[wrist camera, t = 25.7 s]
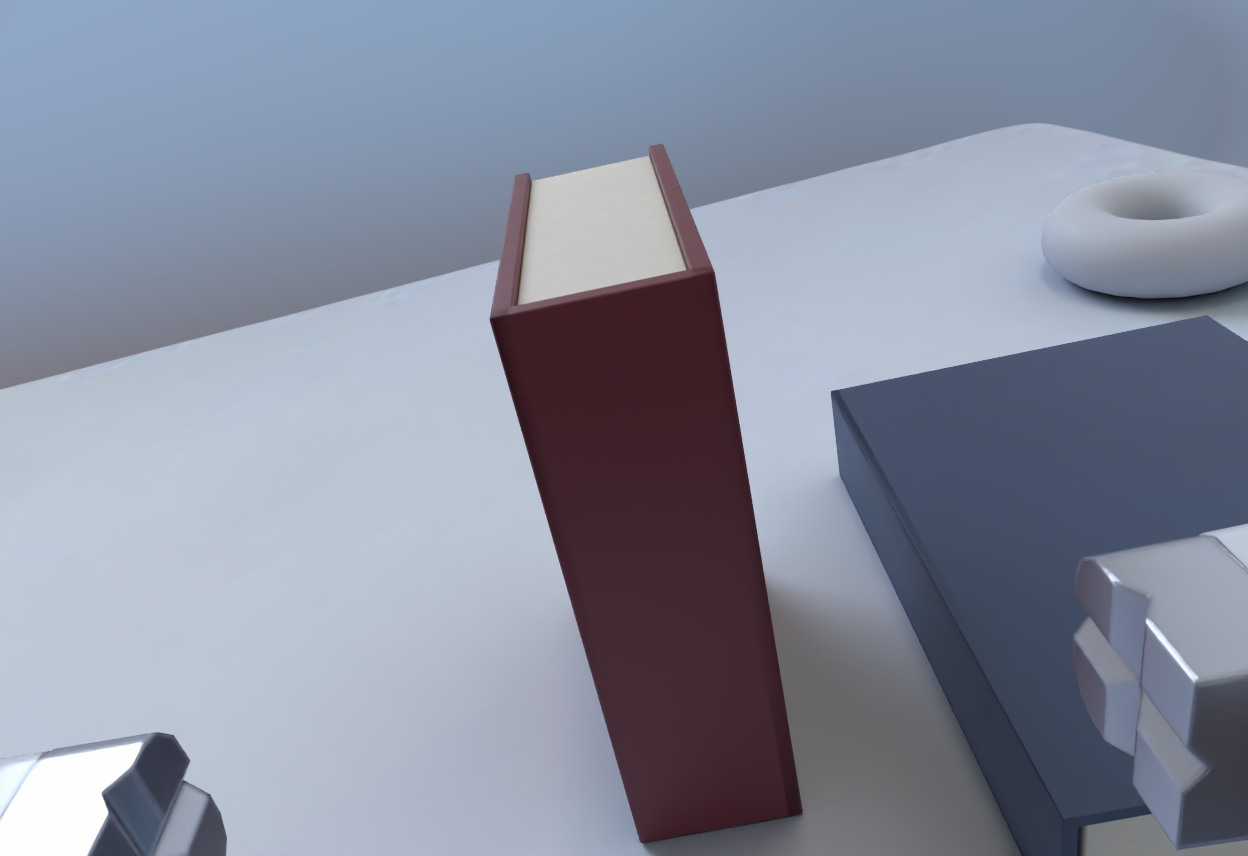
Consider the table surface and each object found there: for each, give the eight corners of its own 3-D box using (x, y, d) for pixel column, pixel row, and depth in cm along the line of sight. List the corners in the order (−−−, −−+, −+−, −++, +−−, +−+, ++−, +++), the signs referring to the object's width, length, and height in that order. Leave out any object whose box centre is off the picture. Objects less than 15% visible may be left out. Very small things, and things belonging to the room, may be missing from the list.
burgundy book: (640, 844, 24) (488, 318, 17) (619, 588, 32) (514, 175, 26) (803, 814, 23) (714, 271, 17) (738, 565, 32) (662, 143, 26)
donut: (1102, 221, 51) (998, 289, 46) (1105, 156, 50) (998, 219, 45) (1322, 243, 44) (1229, 327, 39) (1335, 168, 43) (1239, 245, 37)
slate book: (1059, 935, 20) (1062, 819, 18) (839, 474, 36) (830, 390, 34) (1720, 820, 19) (1786, 690, 18) (1198, 404, 35) (1207, 314, 33)
